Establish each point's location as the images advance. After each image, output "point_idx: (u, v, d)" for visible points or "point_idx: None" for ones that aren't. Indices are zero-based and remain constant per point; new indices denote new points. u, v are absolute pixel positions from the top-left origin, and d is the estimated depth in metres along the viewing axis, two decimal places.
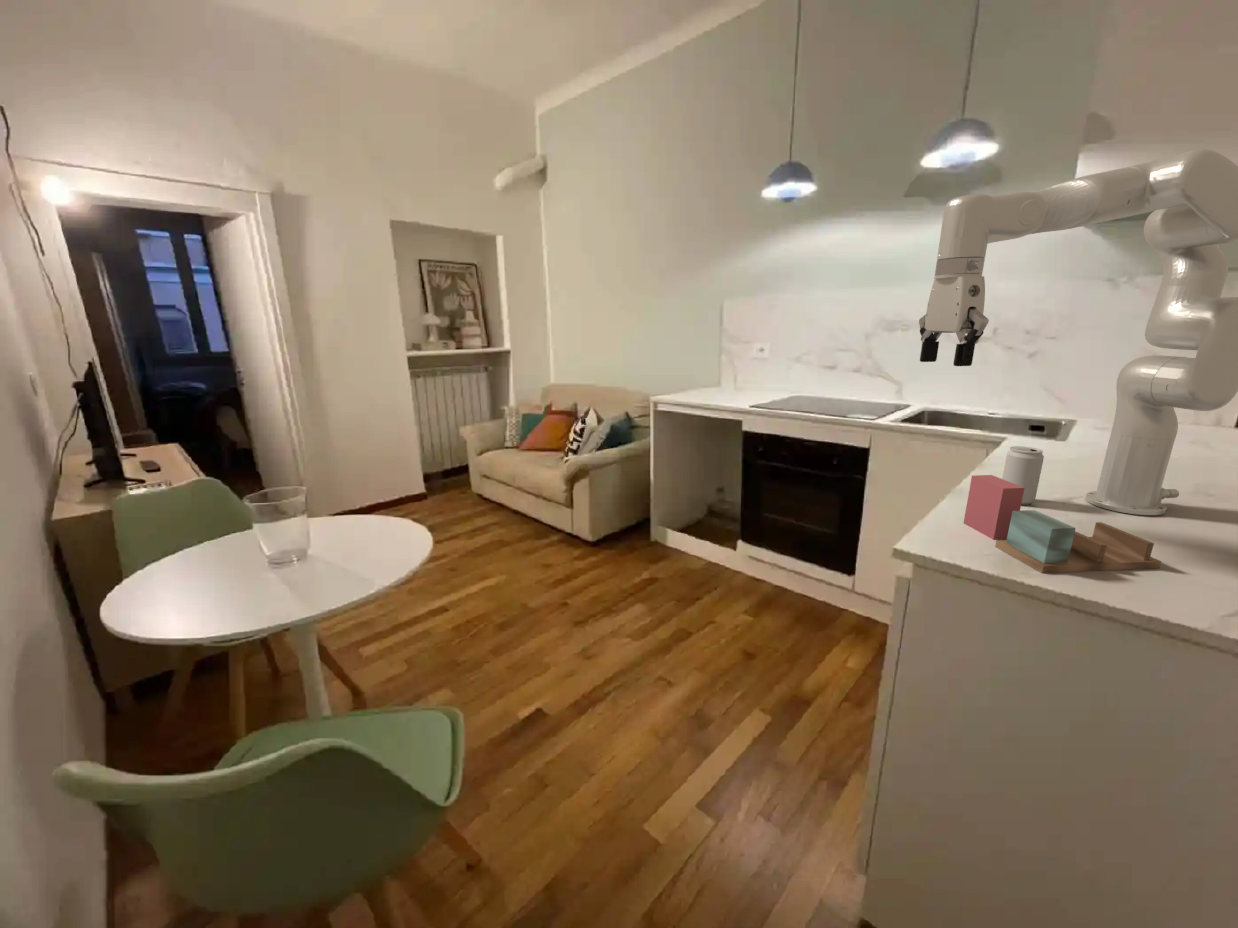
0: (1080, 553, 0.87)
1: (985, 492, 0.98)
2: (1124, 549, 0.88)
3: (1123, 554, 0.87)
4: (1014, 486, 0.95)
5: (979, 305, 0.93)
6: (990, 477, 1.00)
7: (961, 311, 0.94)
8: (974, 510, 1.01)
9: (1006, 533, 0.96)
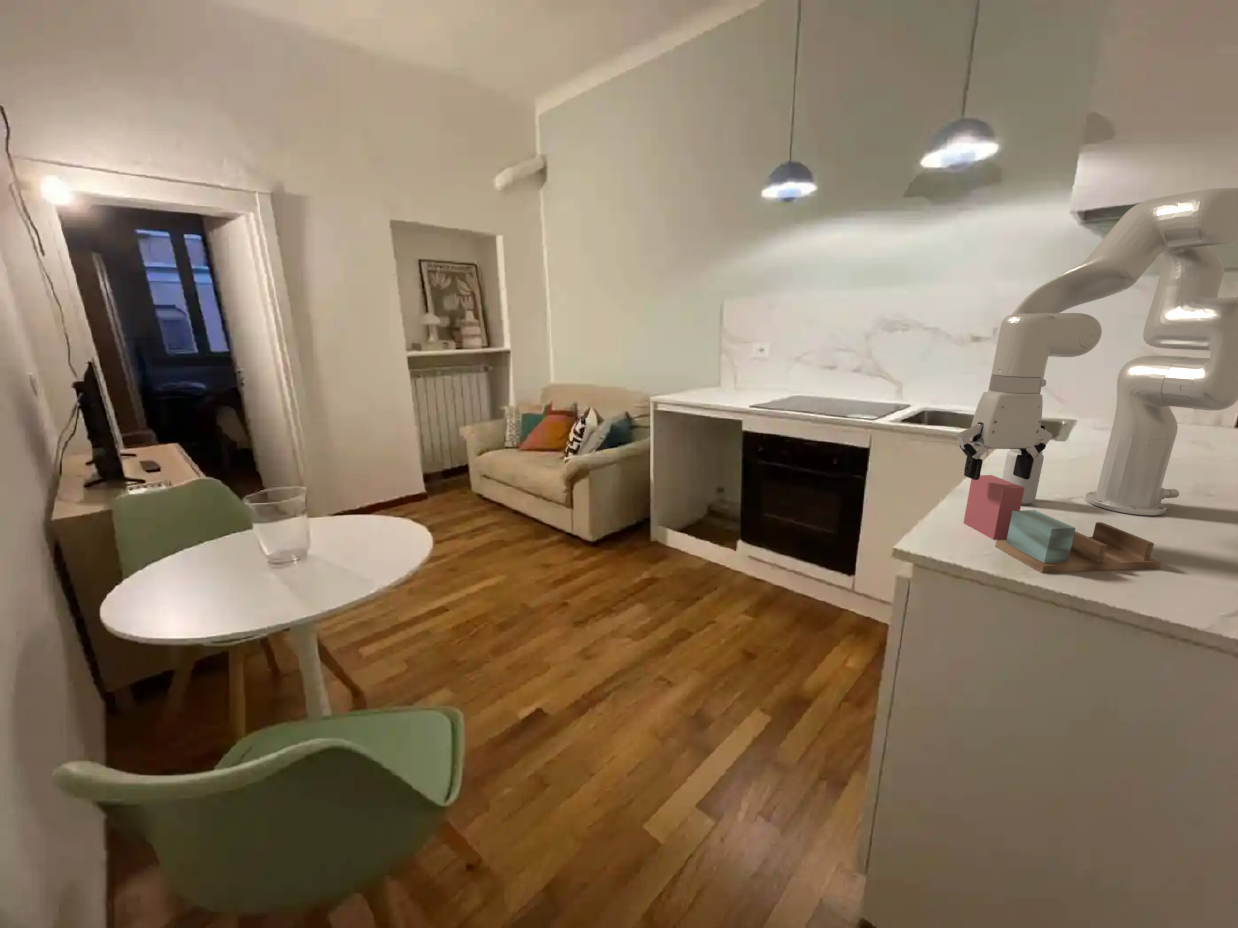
0: (1080, 553, 0.87)
1: (985, 492, 0.98)
2: (1124, 549, 0.88)
3: (1123, 554, 0.87)
4: (1014, 486, 0.95)
5: None
6: (990, 477, 1.00)
7: (1039, 428, 0.93)
8: (974, 510, 1.01)
9: (1006, 533, 0.96)
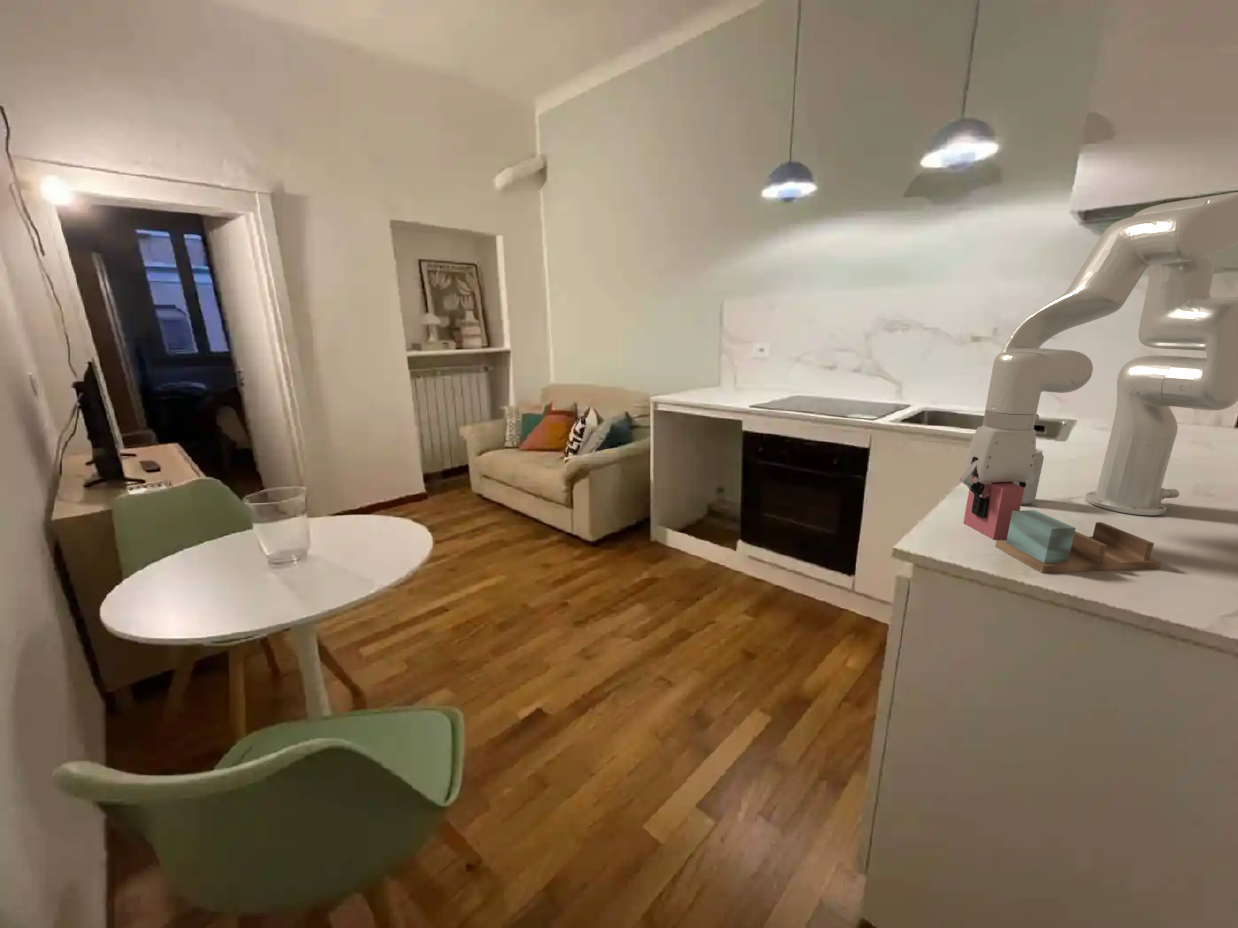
0: (1080, 553, 0.87)
1: None
2: (1124, 549, 0.88)
3: (1123, 554, 0.87)
4: (1014, 486, 0.95)
5: None
6: None
7: (1033, 462, 0.95)
8: None
9: (1006, 533, 0.96)
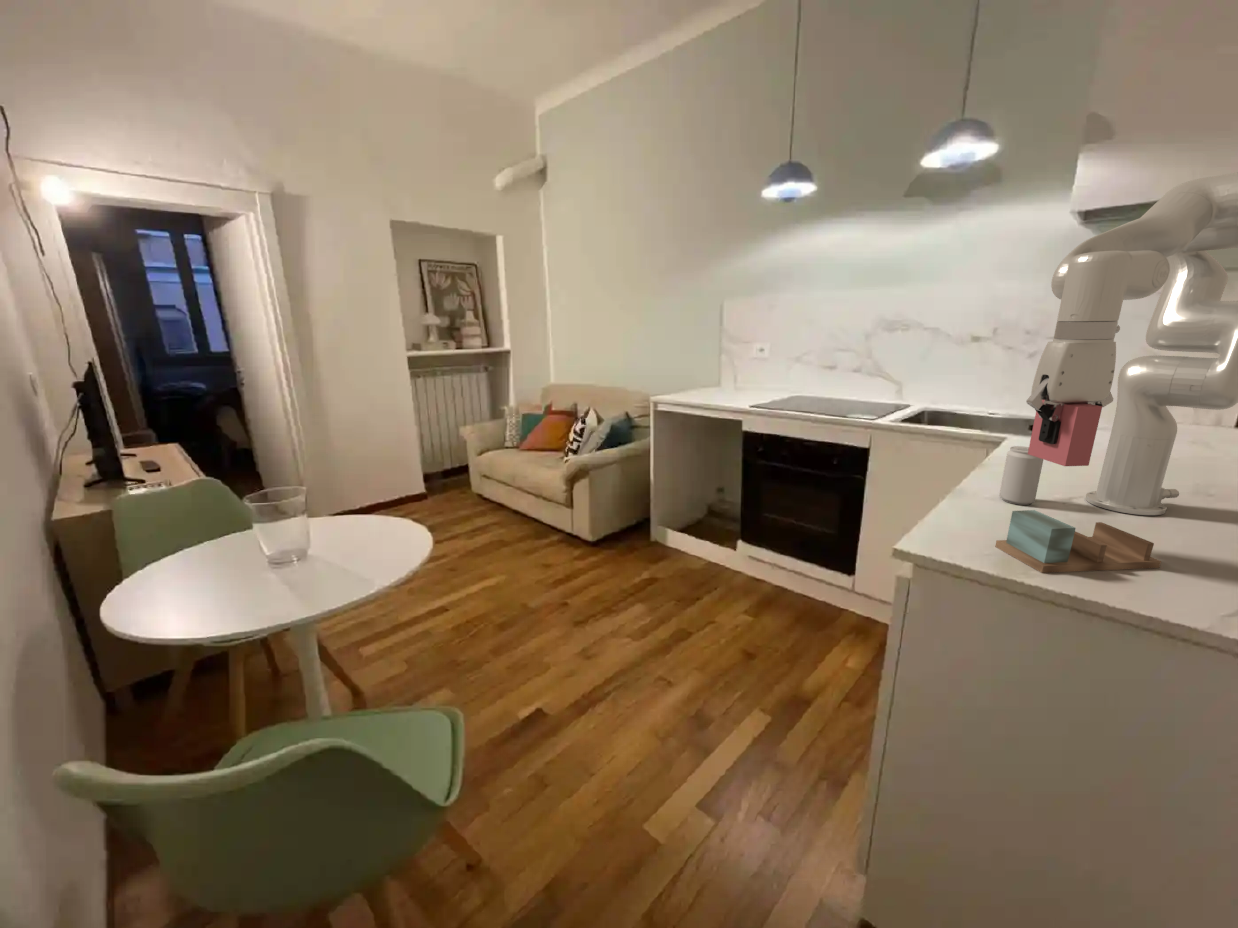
0: (1080, 553, 0.87)
1: None
2: (1124, 549, 0.88)
3: (1123, 554, 0.87)
4: (1090, 405, 0.85)
5: None
6: None
7: (1112, 379, 0.85)
8: None
9: (1080, 459, 0.86)
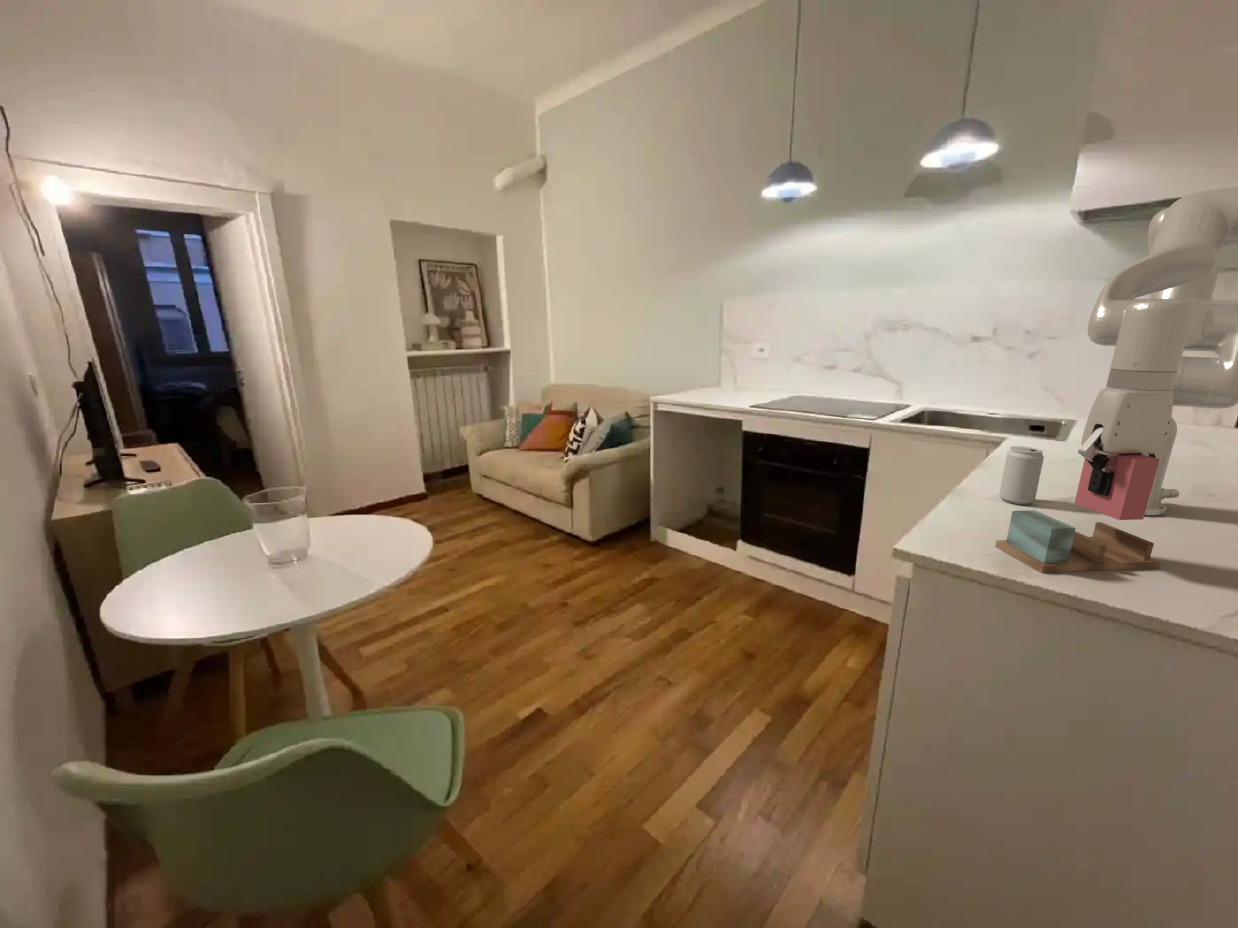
0: (1080, 553, 0.87)
1: None
2: (1124, 549, 0.88)
3: (1123, 554, 0.87)
4: (1147, 457, 0.81)
5: None
6: None
7: None
8: None
9: (1134, 512, 0.83)
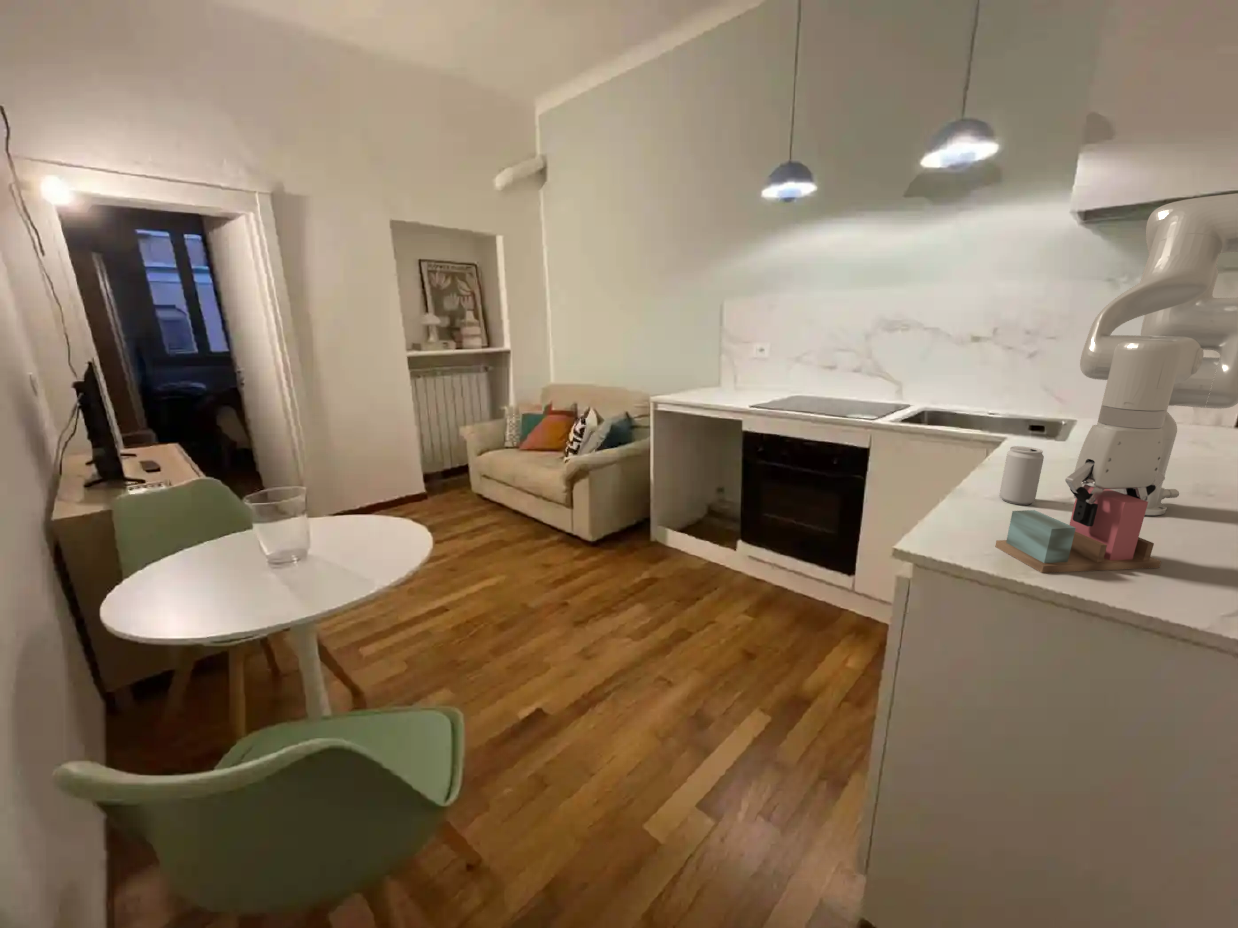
0: (1080, 553, 0.87)
1: (1098, 506, 0.87)
2: None
3: None
4: (1136, 500, 0.83)
5: None
6: None
7: None
8: (1081, 526, 0.90)
9: (1124, 553, 0.85)
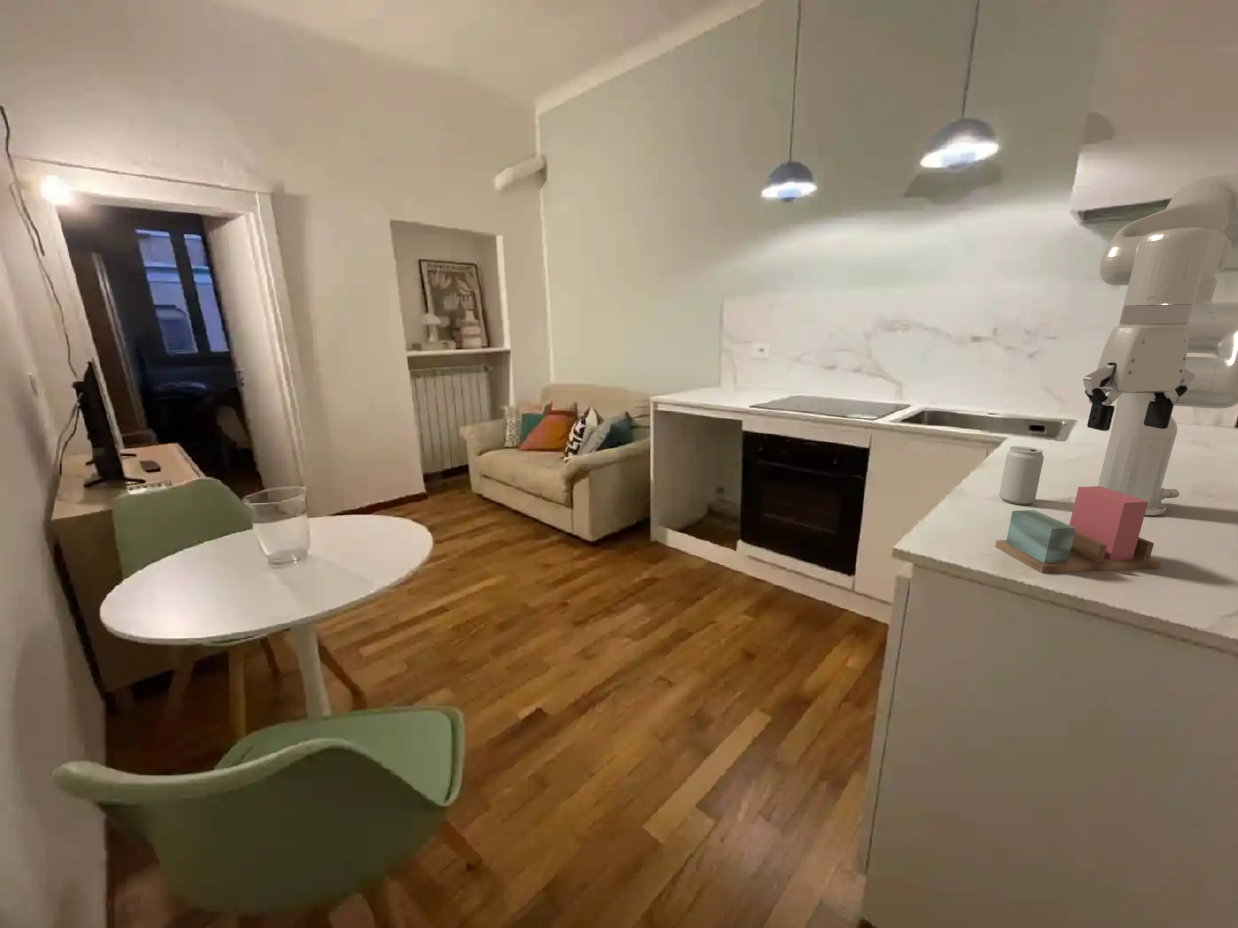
0: (1080, 553, 0.87)
1: (1098, 506, 0.87)
2: None
3: None
4: (1136, 500, 0.83)
5: None
6: (1100, 489, 0.89)
7: None
8: (1081, 526, 0.90)
9: (1124, 553, 0.85)
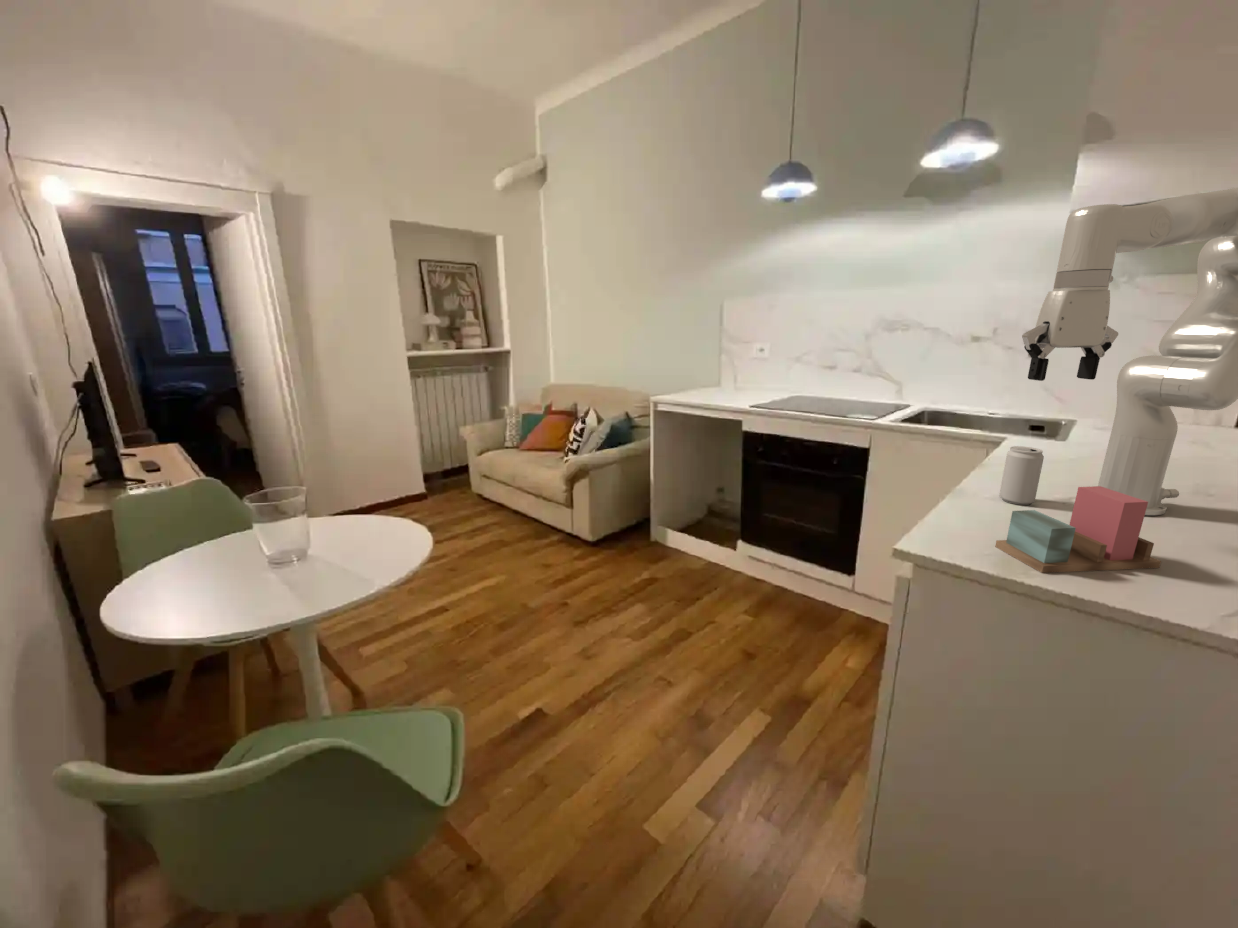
0: (1080, 553, 0.87)
1: (1098, 506, 0.87)
2: None
3: None
4: (1136, 500, 0.83)
5: None
6: (1100, 489, 0.89)
7: None
8: (1081, 526, 0.90)
9: (1124, 553, 0.85)
